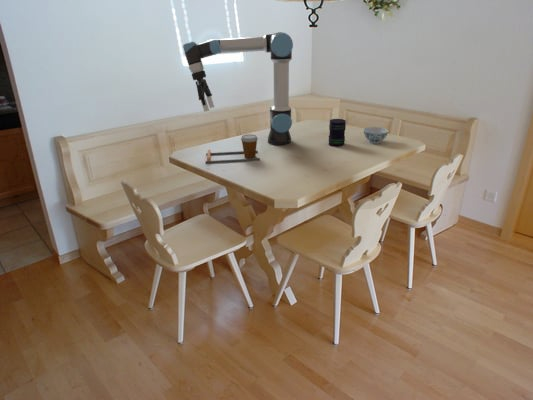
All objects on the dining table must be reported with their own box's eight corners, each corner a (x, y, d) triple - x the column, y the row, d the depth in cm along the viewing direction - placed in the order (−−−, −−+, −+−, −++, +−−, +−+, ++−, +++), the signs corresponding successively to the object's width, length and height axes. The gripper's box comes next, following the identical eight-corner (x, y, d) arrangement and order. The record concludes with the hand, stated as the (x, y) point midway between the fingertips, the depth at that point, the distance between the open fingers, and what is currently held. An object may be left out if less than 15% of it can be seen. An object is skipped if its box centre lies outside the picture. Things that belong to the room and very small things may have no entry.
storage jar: (327, 146, 242) (328, 122, 235) (329, 141, 250) (330, 118, 244) (343, 147, 239) (345, 123, 233) (345, 142, 248) (347, 119, 241)
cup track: (257, 152, 233) (257, 147, 232) (259, 160, 219) (259, 155, 218) (206, 154, 230) (206, 149, 229) (205, 163, 217) (205, 158, 215)
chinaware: (381, 147, 238) (382, 134, 235) (358, 143, 247) (359, 130, 243) (390, 141, 249) (392, 129, 246) (368, 137, 257) (369, 125, 254)
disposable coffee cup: (256, 159, 221) (255, 139, 216) (239, 158, 223) (238, 138, 217) (259, 154, 229) (259, 134, 224) (243, 153, 231) (243, 133, 226)
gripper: (197, 72, 231) (208, 108, 237) (185, 74, 207) (197, 114, 214) (209, 68, 229) (220, 104, 236) (198, 70, 206) (210, 110, 213)
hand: (209, 109), depth 225 cm, fingers open, 13 cm apart
